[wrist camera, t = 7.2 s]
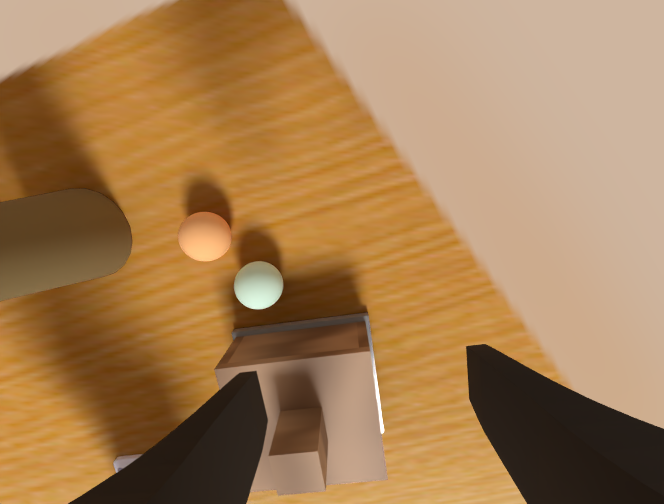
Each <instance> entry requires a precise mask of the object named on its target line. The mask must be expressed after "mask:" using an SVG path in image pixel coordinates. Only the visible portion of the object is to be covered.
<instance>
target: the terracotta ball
mask: <svg viewBox="0 0 664 504" xmlns="http://www.w3.org/2000/svg"><path fill="white" fill-rule="evenodd" d="M231 239H232V234H231V230H230V227H229V225H228V224H227V222H226V221H225V220H224V219H223V218H222V217H220V216H219V215H217V214H214V213H211V212H198V213H195V214H192V215H190V216H189V217H187V218H186V219H185V220H184V221H183V223H182V224H181V226H180V228H179V232H178V240H179V244H180V246H181V248H182V250H183V251H184V252H185V253H186V254H187V255H188V256H189V257H191V258H193V259H195V260H199V261H212V260H215V259H218V258H220V257H221V256H222V255H224V254H225V253H226V251H227V250H228V248H229V247H230V244H231Z"/></svg>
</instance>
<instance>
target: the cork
mask: <svg viewBox="0 0 664 504" xmlns="http://www.w3.org/2000/svg"><path fill="white" fill-rule="evenodd" d="M131 246H132V236H131V230H130V226H129V224H128V222H127V220H126V218H125V216H124V214H123V212H122V211H121V210H120V209H119V208H118V207H117V206H116V204H115V203H114V202H113V201H111V200H110V199H108V198H107V197H105V196H104V195H102V194H101V193H99V192H95V191H92V190H89V189H86V188H77V189H66V190H61V191H56V192H51V193H46V194H41V195H36V196H30V197H25V198H20V199H15V200H10V201H5V202H0V301H3V300H7V299H12V298H16V297H20V296H24V295H28V294H33V293H37V292H41V291H45V290H50V289H54V288H58V287H62V286H67V285H71V284H75V283H79V282H84V281H88V280H92V279H96V278H100V277H104V276H107V275H110V274H113V273H115V272H116V271H118V270H119V269H120V268H121V267H122V266H124V264H125V263H126V261H127V259H128V257H129V255H130V253H131Z"/></svg>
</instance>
